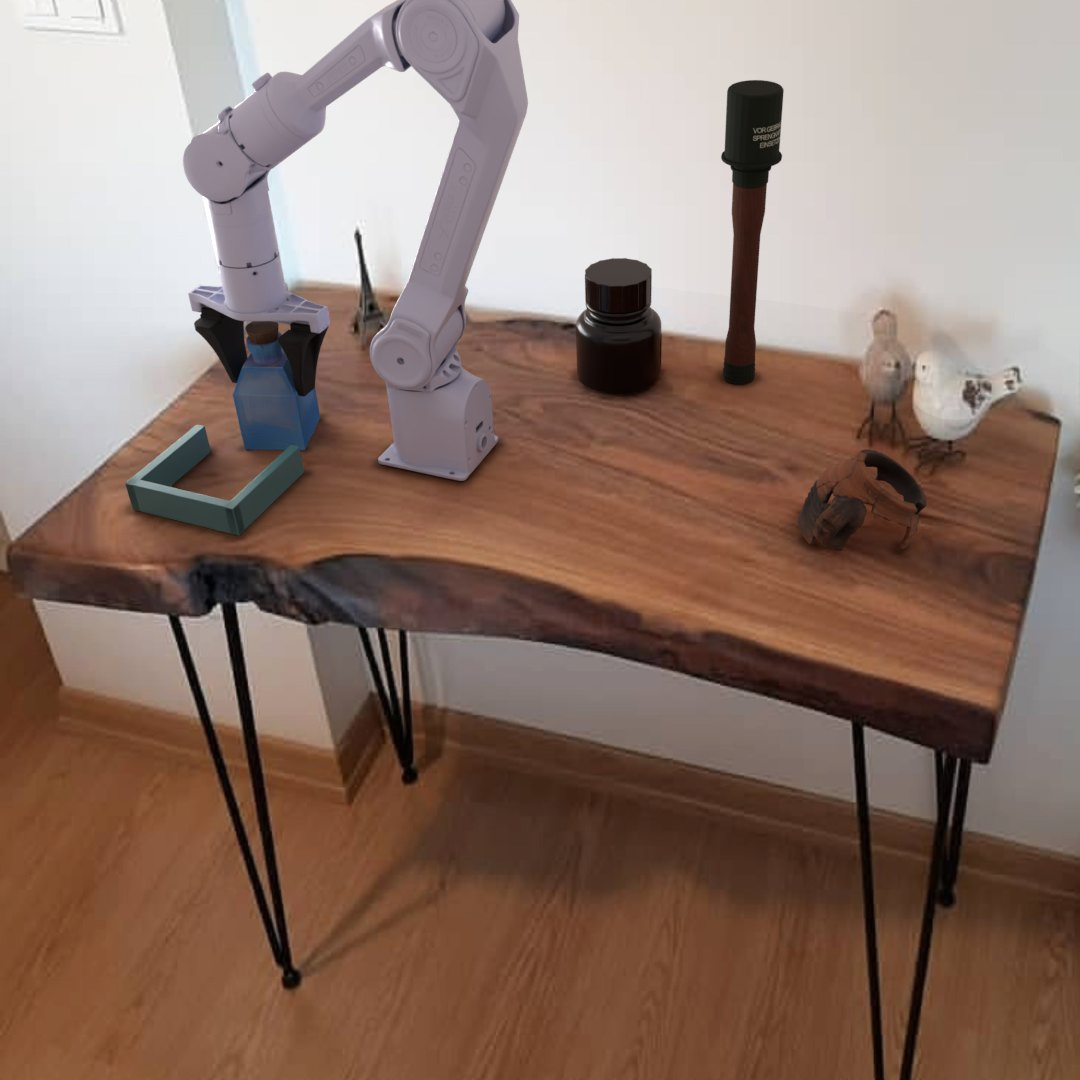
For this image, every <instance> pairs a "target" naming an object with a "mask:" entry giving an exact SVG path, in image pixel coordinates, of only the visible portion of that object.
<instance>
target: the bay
mask: <svg viewBox="0 0 1080 1080" xmlns="http://www.w3.org/2000/svg"><path fill="white" fill-rule="evenodd" d="M211 452H212V450H211V446H210V442H209V437H208V434H207V430H206V426H205V425H202V424H201V425H200V424H196V425H194V426H193V427H191V428H190V429H189V430H188V431H187V432H186V433H184V434H183V435H181V437H179V438H178V439H177V440H176V441H174V442H173V444H171V445H170V446H169V447H167V448H166V449H165V450H164V451H163V452H161V453H160V454H159V455H158V456H156V457H155V458H154V459H153V460H151V461H150V462H149V463H148V464H147V465H145V466H144V467H143V468H142V469H141V470H139V471H138V472H137V473H136V474H134V475H133V476H131V477H130V478H129V479H128V480H127V481H126V482H124V483H125V484H124V485H125V488H126V491H127V494H128V498H129V501H130V505H131V508H132V510H134V511H137V512H141V513H146V514H148V515H149V514H150V515H154V516H158V517H162V518H164V519H165V518H166V519H168V520H169V519H170V520H173V521H178V522H182V523H186V524H190V525H194V526H198V527H201V528H206V529H211V530H215V531H218V532H223V533H226V534H230V535H233V536H240V535H241V534H243V533H244V532H245V531H246V529H248V528H249V526H251V525H252V524H253V523H254V521H256V520H257V519H258V518H259V517H260V516H262V514H263V513H264V512H265V511H266V510H268V508H269V507H271V505H272V504H273V503H275V502H276V501H277V500H278V498H280V497H281V496H282V495H283V494H284V493H285V492H286V491H287V490H288V489H289V488H290V487H291V486H292V485H293V484H294V483H295V482H296V481H297V480H298V479H299V478H300V477H302V475H303V474H304V473H305V467H304V462H303V458H302V457H303V456H302V453H301V450H300V447H299V446H295V445H290V446H289V447H288V448H287V449H286V450H283V452H281V453H280V454H279V455H278V456H277V457H276V458H275V459H274V460H273V461H271V463H270V464H268V465H267V466H266V467H265V468H264V469H263V470H262V471H260V473H259V474H258V475H257V476H256V477H254V478H253V480H251V481H250V482H249V483H247V485H246V486H245V487H244V488H243V489H242V490H240V491H239V492H238V493H237V494H236V495H235V496H233V498H232V499H230V500H227V499H223V498H218V497H216V496H215V497H214V496H210V495H206V494H202V493H199V492H194V491H190V490H185V489H180V488H176V487H172V486H173V485H174V484H175V483H177V482H178V481H179V480H180V479H181V478H182V477H183V476H185V475H186V474H187V473H188V472H189V471H191V470H192V469H193V468H194V467H195V466H196V465H197V464H198V463H200V462H201V461H202V460H203V459H205V458H206V457H207V456H208V455H209V454H210V453H211Z"/></svg>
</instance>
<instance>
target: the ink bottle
mask: <svg viewBox="0 0 1080 1080" xmlns="http://www.w3.org/2000/svg"><path fill="white" fill-rule="evenodd" d="M652 271H653V270H652V268H651V267H650V266H649V265H648V264H647V263H645V262H643V261H640V260H638V259H631V258H627V257H623V258H618V257H616V258H614V257H612V258H607V259H601V260H598V261H596V262H594V263H590V265H589V266H588V267H587V268H585V271H584V273H585V274H584V299H585V307H586V309H584V310H583V311H582V312H581V313H580V314H579V316H578V318H577V319H576V322H575V349H576V350H575V352H576V353H575V354H576V376H577V379H578V381H579V382H580V383H581V384H582V385H583V386H584V387H586V388H587V389H590V390H591V391H595V392H598V393H601V394H607V395H616V396H617V395H618V396H619V395H620V396H622V395H633V394H636V393H640V392H643V391H645V390H647V389H649V388H650V387H651V386H653V385H654V384H655V383H656V382H657V381H658V380H659V378H660V376H661V368H662V348H663V347H662V344H663V343H662V342H663V341H662V340H663V339H662V338H663V336H662V320H661V317H660V315H659V313H657V311H656V310H654V309H653V308H652V289H653V287H652V280H653V279H652V277H653V276H652V275H653V274H652V273H653V272H652Z"/></svg>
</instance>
